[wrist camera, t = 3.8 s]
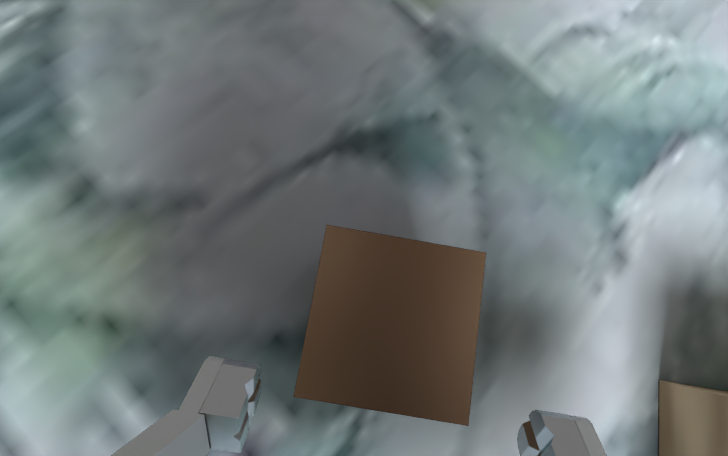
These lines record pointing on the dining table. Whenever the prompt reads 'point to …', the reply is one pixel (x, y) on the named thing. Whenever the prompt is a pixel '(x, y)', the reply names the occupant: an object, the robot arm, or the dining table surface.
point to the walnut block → (393, 326)
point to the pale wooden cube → (692, 420)
